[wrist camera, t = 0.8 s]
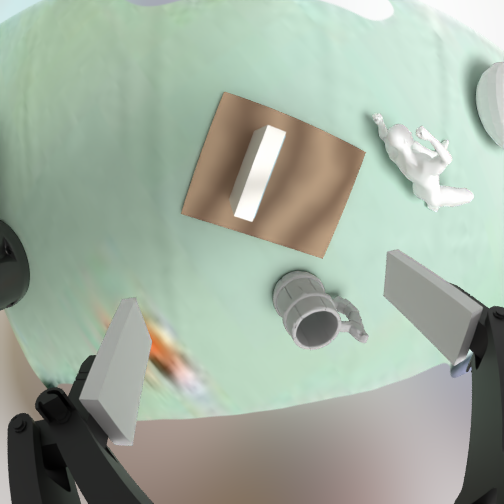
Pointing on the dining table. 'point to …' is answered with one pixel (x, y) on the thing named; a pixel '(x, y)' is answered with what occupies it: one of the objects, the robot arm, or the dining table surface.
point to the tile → (256, 171)
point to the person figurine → (422, 164)
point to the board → (275, 177)
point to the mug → (314, 311)
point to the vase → (492, 102)
